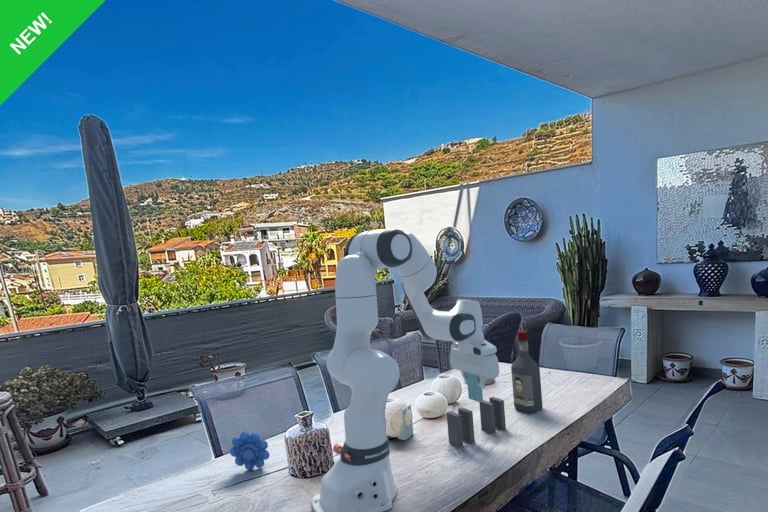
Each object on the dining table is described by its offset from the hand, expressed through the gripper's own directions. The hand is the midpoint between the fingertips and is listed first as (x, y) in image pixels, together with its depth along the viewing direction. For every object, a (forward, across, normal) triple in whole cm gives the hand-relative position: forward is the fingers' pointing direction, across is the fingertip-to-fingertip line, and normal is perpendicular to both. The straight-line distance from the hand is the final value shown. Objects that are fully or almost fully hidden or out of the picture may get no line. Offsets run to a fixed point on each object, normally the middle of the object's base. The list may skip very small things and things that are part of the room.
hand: (474, 386), depth 139 cm
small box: (+17, -18, -20) cm, 32 cm away
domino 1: (+17, 0, -10) cm, 20 cm away
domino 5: (+17, 0, +10) cm, 19 cm away
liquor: (+17, -4, +31) cm, 35 cm away
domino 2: (+17, 0, -5) cm, 17 cm away
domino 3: (+5, 0, 0) cm, 5 cm away
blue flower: (+17, -28, -69) cm, 76 cm away
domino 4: (+17, 0, +5) cm, 17 cm away
